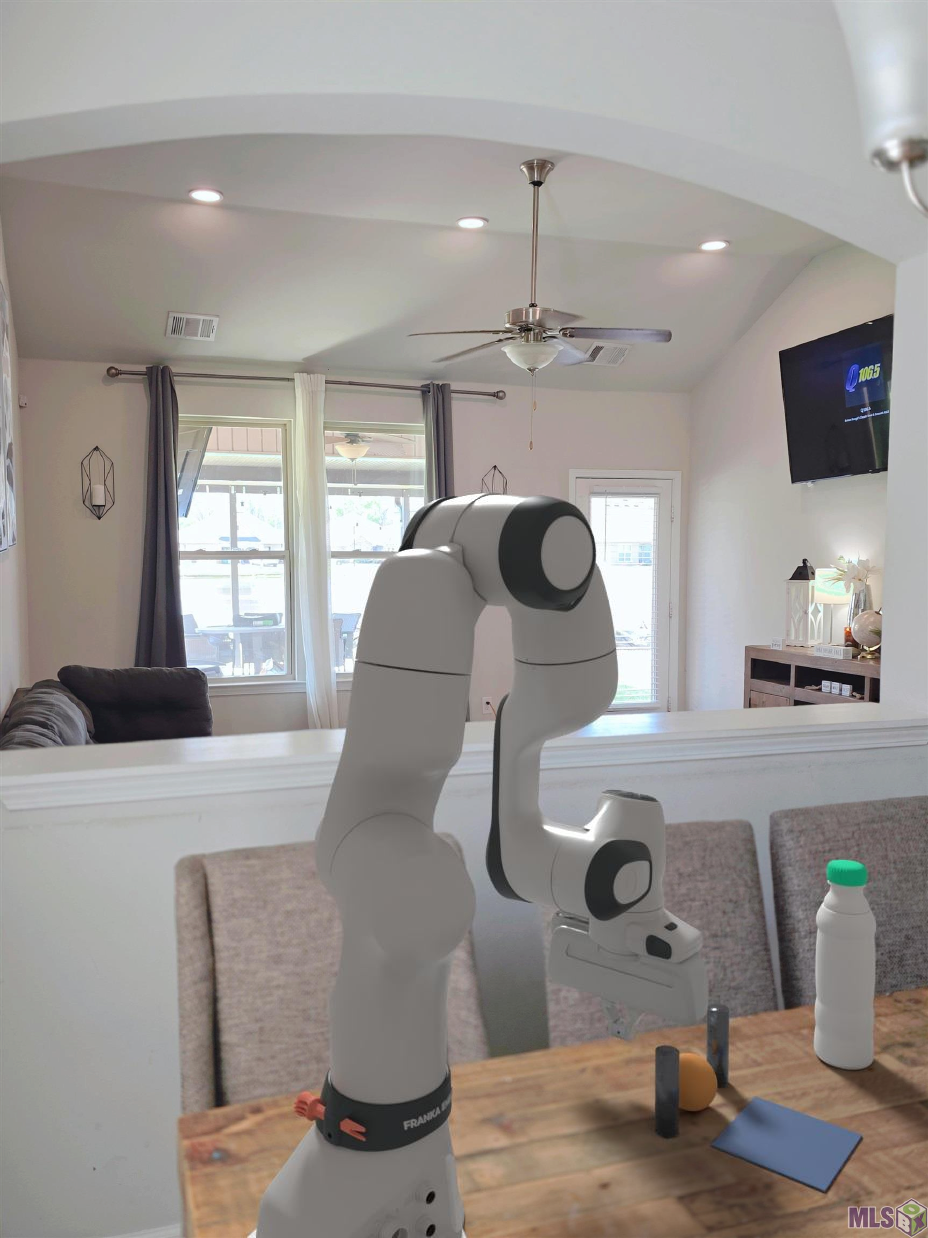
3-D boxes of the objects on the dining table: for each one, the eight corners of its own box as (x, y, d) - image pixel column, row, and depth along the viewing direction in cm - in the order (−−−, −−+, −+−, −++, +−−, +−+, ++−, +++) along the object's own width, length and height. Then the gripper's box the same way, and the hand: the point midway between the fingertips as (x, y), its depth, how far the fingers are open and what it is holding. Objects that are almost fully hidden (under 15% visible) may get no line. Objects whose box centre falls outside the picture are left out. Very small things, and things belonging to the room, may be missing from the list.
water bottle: (879, 1075, 115) (883, 874, 114) (818, 1069, 117) (822, 870, 116) (866, 1047, 122) (870, 857, 121) (809, 1041, 124) (812, 853, 122)
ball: (652, 1102, 109) (696, 1133, 105) (653, 1061, 108) (698, 1091, 103) (682, 1073, 113) (726, 1102, 109) (684, 1033, 111) (728, 1061, 107)
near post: (672, 1141, 102) (672, 1060, 102) (650, 1132, 104) (651, 1052, 103) (682, 1130, 104) (683, 1050, 104) (661, 1121, 106) (662, 1043, 105)
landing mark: (824, 1192, 93) (824, 1190, 93) (711, 1146, 101) (711, 1144, 101) (862, 1136, 103) (862, 1135, 103) (755, 1098, 110) (755, 1096, 110)
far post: (722, 1089, 112) (723, 1016, 112) (702, 1082, 114) (703, 1009, 113) (731, 1080, 114) (732, 1008, 114) (711, 1073, 116) (712, 1002, 115)
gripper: (539, 910, 117) (535, 1020, 118) (693, 953, 105) (688, 1075, 105) (565, 898, 122) (562, 1003, 123) (716, 937, 110) (711, 1054, 110)
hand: (621, 1037), depth 114 cm, fingers closed
